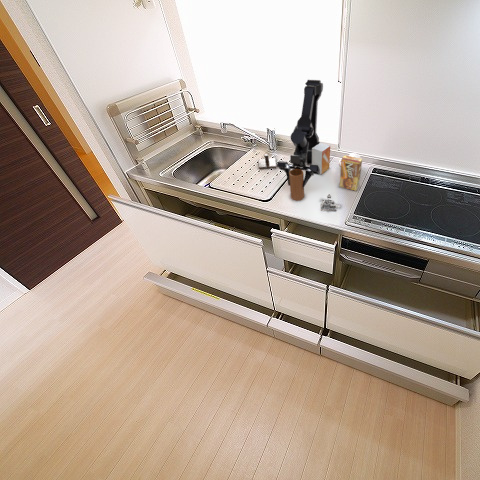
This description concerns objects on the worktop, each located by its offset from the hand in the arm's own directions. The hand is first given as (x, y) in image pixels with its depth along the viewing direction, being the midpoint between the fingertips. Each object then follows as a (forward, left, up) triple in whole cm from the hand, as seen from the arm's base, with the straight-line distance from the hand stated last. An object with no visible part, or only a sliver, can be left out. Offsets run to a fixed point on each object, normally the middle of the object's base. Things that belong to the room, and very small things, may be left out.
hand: (296, 186), depth 117 cm
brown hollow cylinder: (-1, -1, -7) cm, 7 cm away
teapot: (-15, +8, -7) cm, 18 cm away
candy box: (-27, -5, -7) cm, 28 cm away
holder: (+12, -33, -7) cm, 36 cm away
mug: (-31, -20, -7) cm, 38 cm away
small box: (-16, -23, -7) cm, 29 cm away
